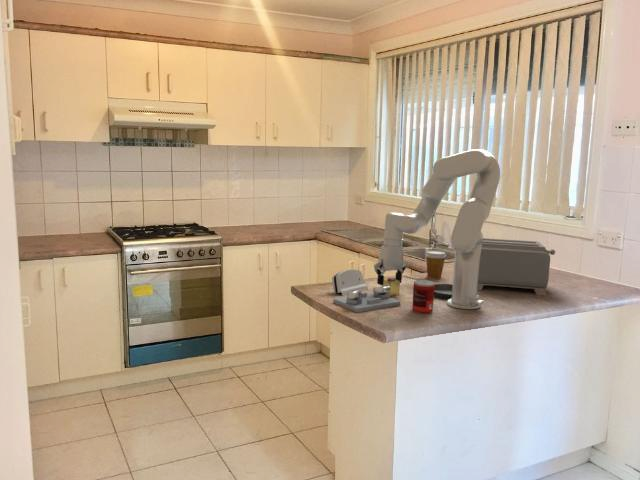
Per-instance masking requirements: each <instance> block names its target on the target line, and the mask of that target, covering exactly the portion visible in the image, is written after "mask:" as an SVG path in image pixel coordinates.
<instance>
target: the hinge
mask: <svg viewBox="0 0 640 480" xmlns="http://www.w3.org/2000/svg"><path fill="white" fill-rule="evenodd" d="M331 280H332V281H331V282H332V291H333V294H339V293H341V296H342V297H345V296H347V294H348V293H350V292H353V291H356V290H360V291H361V292H363V291H368V290H369V288H368V284H366V283H365V279H364V275H363V274H362V271H361V270H360V269H345V270H341V271H339V272H337V273H336V274H334V275H333V276H332V277H331Z"/></svg>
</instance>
